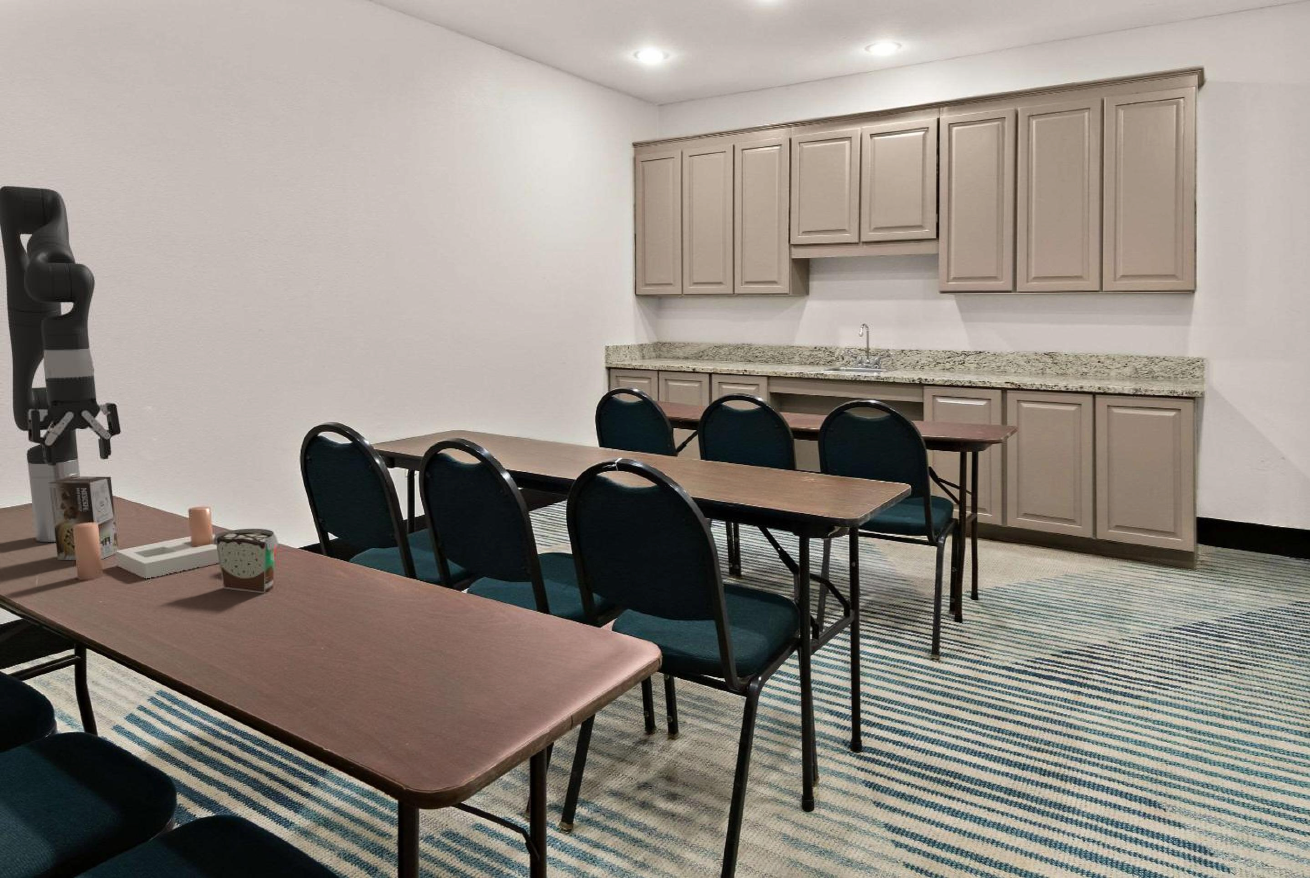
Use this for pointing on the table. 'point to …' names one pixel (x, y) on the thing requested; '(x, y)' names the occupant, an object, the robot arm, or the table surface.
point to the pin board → (174, 550)
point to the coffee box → (83, 512)
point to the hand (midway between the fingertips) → (78, 462)
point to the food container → (247, 559)
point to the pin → (87, 551)
